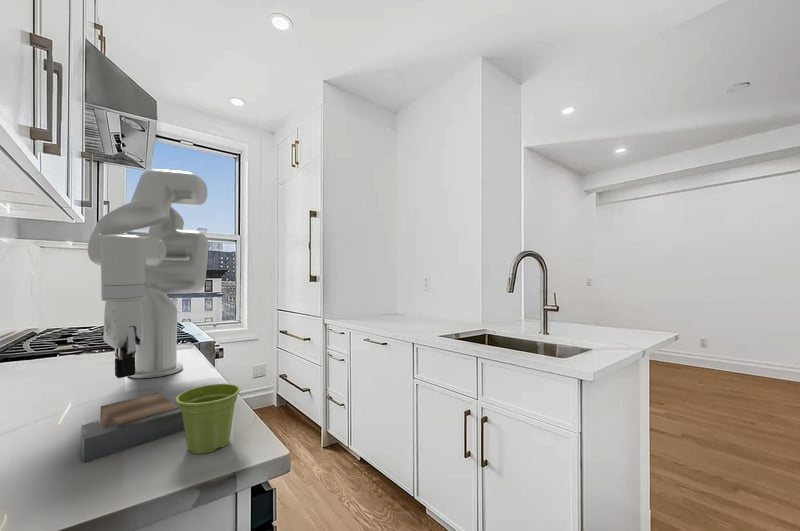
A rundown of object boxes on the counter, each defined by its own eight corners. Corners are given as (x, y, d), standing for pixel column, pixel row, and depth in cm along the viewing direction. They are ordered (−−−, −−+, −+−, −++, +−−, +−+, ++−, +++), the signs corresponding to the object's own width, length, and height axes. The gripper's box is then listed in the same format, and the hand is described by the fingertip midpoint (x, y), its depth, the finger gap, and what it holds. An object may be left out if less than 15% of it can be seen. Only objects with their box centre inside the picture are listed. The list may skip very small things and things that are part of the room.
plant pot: (163, 463, 52) (164, 405, 52) (188, 434, 61) (189, 385, 61) (231, 457, 54) (231, 401, 54) (245, 429, 63) (246, 381, 63)
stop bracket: (73, 445, 57) (73, 424, 57) (202, 408, 73) (202, 391, 73) (84, 462, 52) (84, 439, 52) (220, 418, 68) (220, 400, 68)
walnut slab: (100, 427, 65) (100, 406, 65) (156, 412, 72) (157, 392, 72) (119, 448, 57) (119, 424, 57) (180, 428, 64) (180, 407, 64)
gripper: (93, 290, 77) (94, 371, 78) (111, 297, 67) (113, 390, 68) (134, 287, 82) (135, 363, 83) (156, 294, 73) (157, 379, 74)
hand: (125, 375), depth 76 cm, fingers closed
